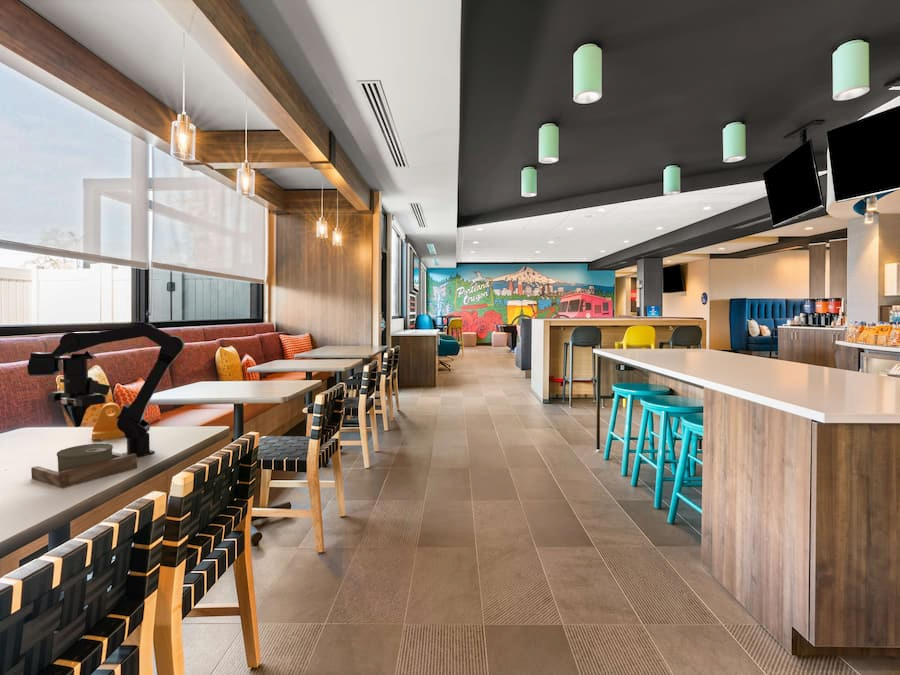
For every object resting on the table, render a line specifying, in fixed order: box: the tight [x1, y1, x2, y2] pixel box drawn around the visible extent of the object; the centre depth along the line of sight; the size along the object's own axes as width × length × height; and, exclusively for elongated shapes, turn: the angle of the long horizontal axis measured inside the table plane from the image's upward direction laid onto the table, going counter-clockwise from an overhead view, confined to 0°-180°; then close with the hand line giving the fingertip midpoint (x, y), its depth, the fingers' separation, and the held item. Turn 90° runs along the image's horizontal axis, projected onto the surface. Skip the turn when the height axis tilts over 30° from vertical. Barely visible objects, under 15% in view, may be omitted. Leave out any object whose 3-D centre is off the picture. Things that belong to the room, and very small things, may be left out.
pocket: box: [30, 451, 138, 489], centre depth 127 cm, size 15×18×4 cm
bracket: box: [91, 402, 126, 441], centre depth 165 cm, size 11×7×12 cm, turn 126°
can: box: [56, 443, 114, 472], centre depth 127 cm, size 12×12×7 cm
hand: (77, 426), depth 138 cm, fingers closed
